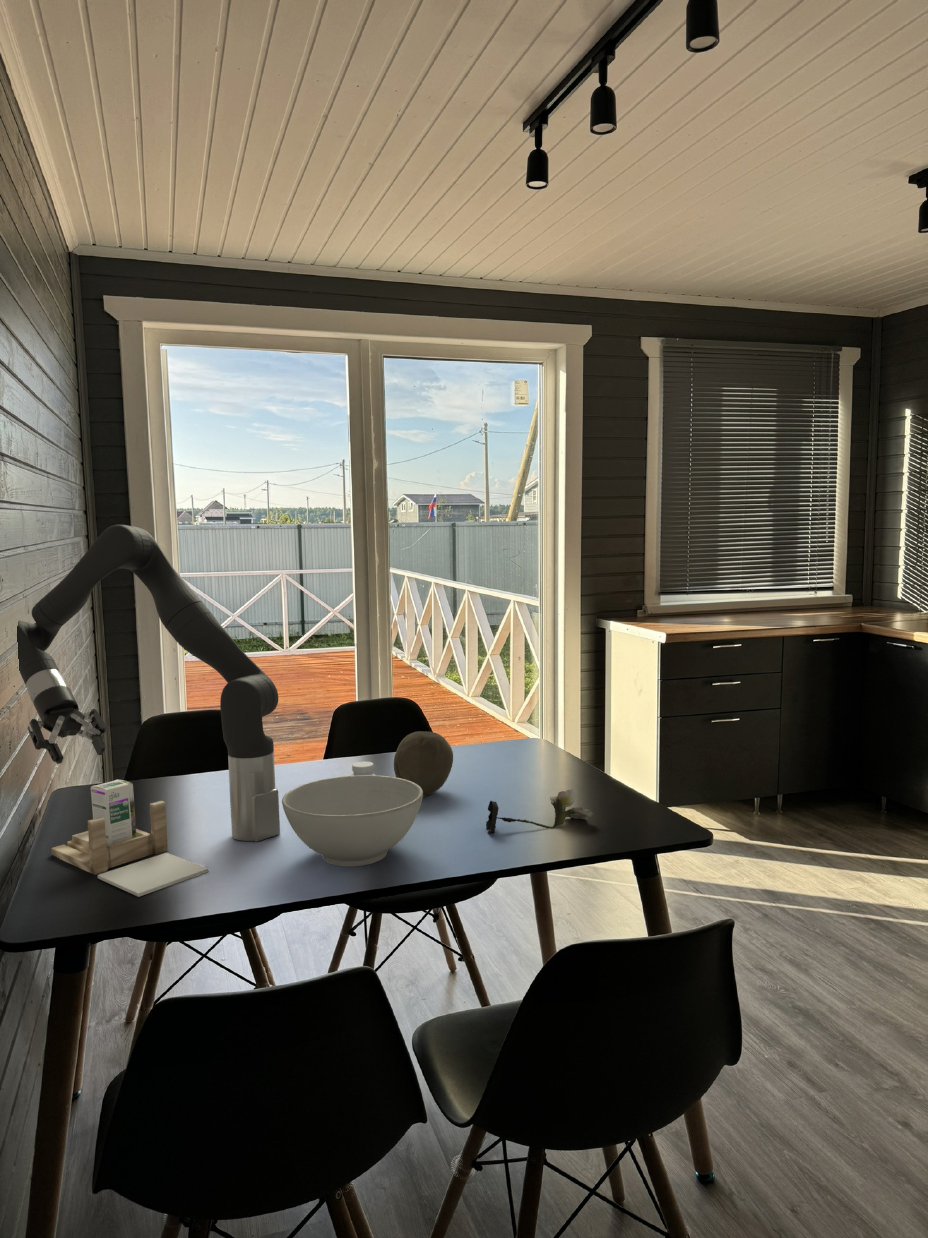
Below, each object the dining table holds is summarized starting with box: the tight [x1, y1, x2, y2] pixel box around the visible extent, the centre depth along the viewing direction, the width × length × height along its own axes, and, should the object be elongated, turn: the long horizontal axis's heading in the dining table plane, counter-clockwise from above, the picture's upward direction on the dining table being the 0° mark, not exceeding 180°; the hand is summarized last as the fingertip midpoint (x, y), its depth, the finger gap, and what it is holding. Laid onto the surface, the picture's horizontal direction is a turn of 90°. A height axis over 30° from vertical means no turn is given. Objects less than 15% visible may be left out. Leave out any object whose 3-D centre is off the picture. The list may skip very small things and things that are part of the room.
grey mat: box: [97, 852, 210, 898], centre depth 156 cm, size 14×14×1 cm
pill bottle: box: [350, 761, 377, 776], centre depth 188 cm, size 6×6×12 cm
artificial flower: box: [485, 788, 594, 834], centre depth 179 cm, size 9×22×10 cm, turn 98°
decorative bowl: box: [281, 774, 424, 867], centre depth 164 cm, size 27×27×12 cm
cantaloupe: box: [393, 730, 454, 797], centre depth 203 cm, size 14×14×15 cm
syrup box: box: [90, 779, 137, 846], centre depth 166 cm, size 6×6×14 cm
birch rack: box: [50, 800, 169, 876], centre depth 168 cm, size 17×15×10 cm
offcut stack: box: [66, 830, 89, 852], centre depth 171 cm, size 7×9×3 cm
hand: (81, 757), depth 172 cm, fingers open, 8 cm apart
